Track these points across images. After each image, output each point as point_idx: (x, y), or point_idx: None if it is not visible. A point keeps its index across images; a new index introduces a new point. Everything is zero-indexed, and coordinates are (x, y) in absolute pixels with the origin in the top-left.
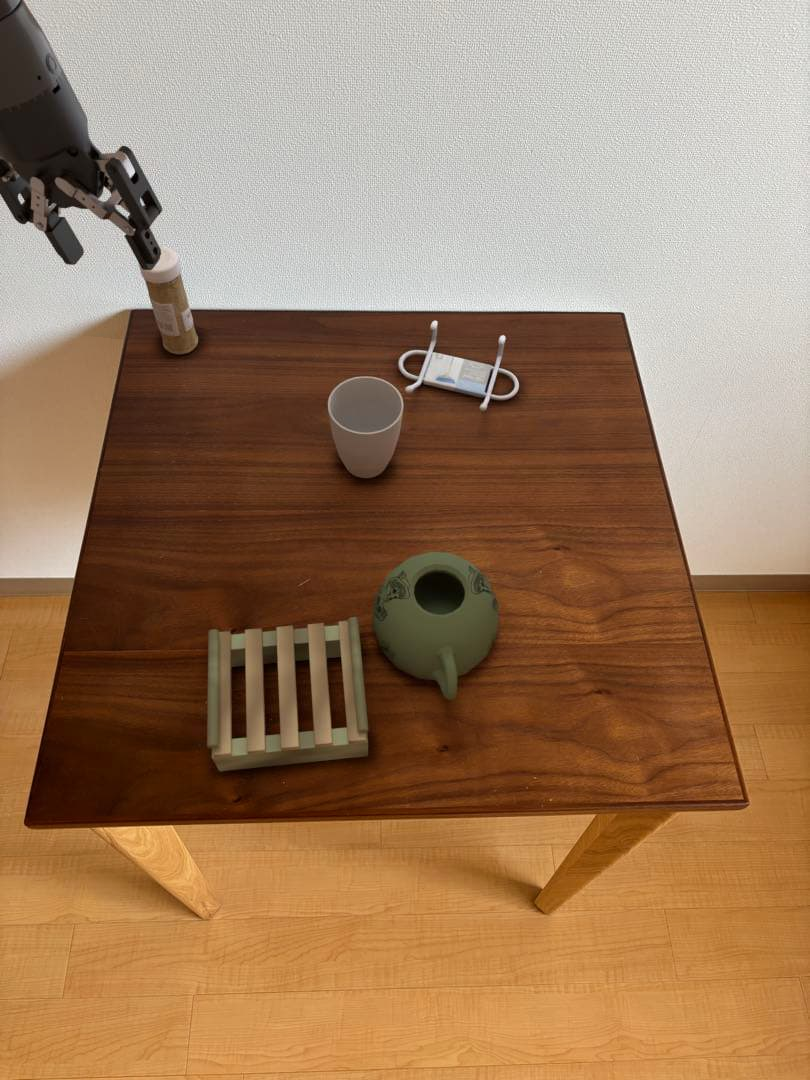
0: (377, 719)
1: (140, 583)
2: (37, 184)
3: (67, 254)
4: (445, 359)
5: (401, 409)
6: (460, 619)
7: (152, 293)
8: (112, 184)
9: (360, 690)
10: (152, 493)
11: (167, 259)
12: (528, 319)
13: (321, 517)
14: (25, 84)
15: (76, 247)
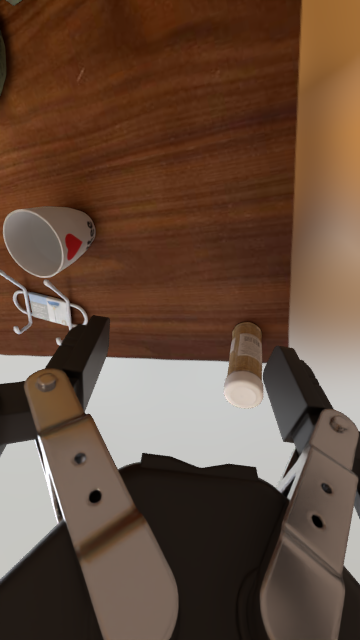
0: None
1: (233, 21)
2: (298, 607)
3: (283, 362)
4: (59, 320)
5: (6, 243)
6: None
7: (253, 364)
8: None
9: None
10: (243, 161)
11: (233, 393)
12: (33, 352)
13: (91, 161)
14: None
15: (271, 379)
